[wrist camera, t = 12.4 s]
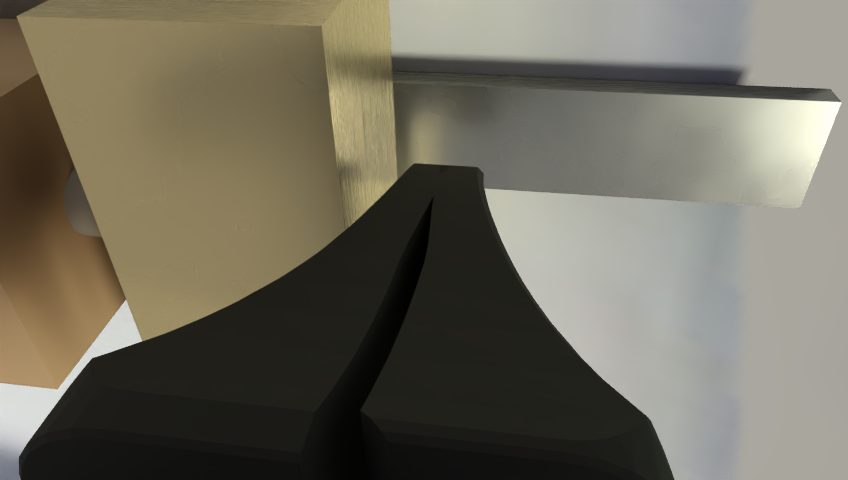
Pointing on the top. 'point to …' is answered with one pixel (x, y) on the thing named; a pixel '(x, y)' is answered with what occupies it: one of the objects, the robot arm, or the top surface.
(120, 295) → the housing block
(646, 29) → the top surface
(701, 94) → the press bed
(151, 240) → the block
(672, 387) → the top surface
